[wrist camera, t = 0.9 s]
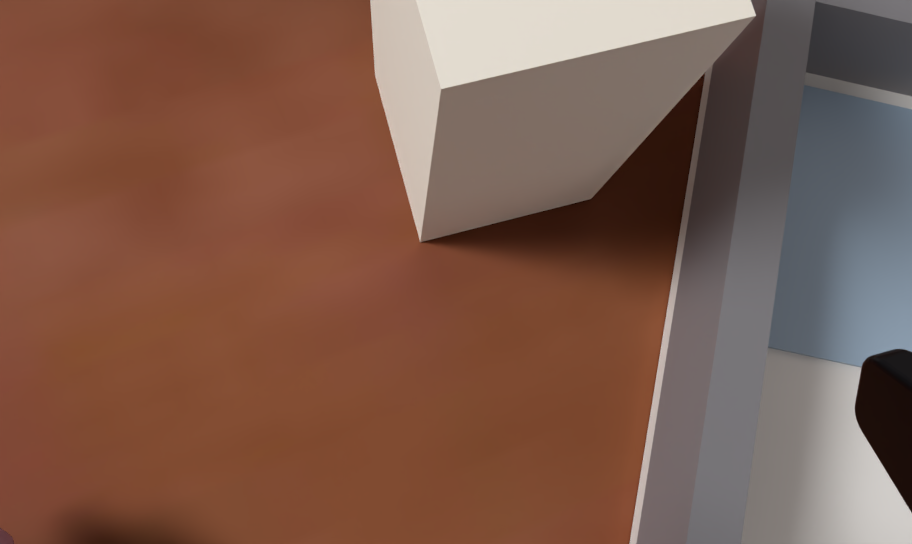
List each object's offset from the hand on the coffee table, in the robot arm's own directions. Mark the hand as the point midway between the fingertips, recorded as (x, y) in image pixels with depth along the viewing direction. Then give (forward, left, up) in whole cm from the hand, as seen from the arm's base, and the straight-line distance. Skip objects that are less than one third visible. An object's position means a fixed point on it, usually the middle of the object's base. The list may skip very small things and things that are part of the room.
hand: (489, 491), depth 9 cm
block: (+9, 0, -13) cm, 16 cm away
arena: (+5, -12, -13) cm, 18 cm away
